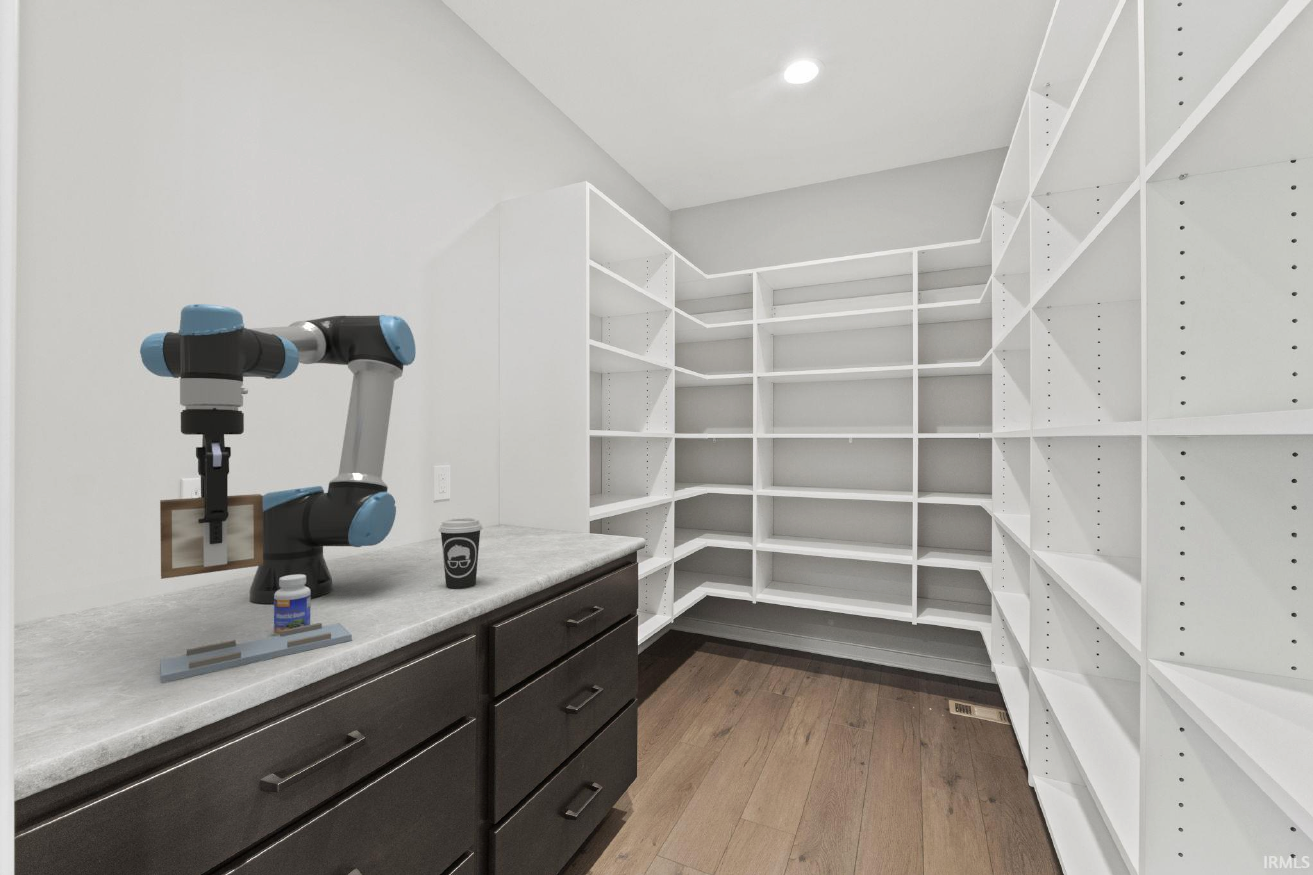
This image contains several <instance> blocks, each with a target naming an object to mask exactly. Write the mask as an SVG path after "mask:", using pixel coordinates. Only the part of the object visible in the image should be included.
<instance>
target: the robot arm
mask: <svg viewBox="0 0 1313 875" xmlns="http://www.w3.org/2000/svg"><path fill="white" fill-rule="evenodd" d="M139 353H140V358H141V361H142V364H143V366H144V367H145V368H146V370H148V371H149V372H150V373H152V374H153V375H156V376H158V377H165V378H166V377H167V378H173V379H179V405H181V406H182V407H185V408H184V409H183V410H181V411H180V433H181V434H183V435H189V436H190V435H191V436H192V435H194V436H195V435H196V436H197V435H201V436H202V441H201V443H202V444H201V445H202V446H200V447H199V446H196V447H195V456H196V458H197V473H198V475H199V476H200V498H205V517H204V519H198V522H199V523H203V549H204V567H207V566H215V565H223V564H227V521H226V519H227V517H228V515H229V513H228V496H229V495H228V483H229V482H228V478H229V477H228V476H229V473H230V458H231V456H232V452H231V450H232V449H231V446H225V445H226V444H225V435H242V434H243V433H244V431H245V428H244V427H245V423H244V422H245V414H244V412H243V411H242V410H239V408H242V407H244V395H248V394H249V389H248V388H245V387H243V385H244V383H243V382H244V378H245V377H246V378H247V377H248V378H265V379H267V380H269V379H270V380H271V379H272V380H274V379H277V380H279V379H285V378H288V377H290V376H291V375H293V374H294V373H295V371H296V370H297V369H298V367H299V365H300V364H303V365H313V364H326V365H327V364H330V365H339V366H347V369H348V370H349V371H350V372H351V373H352V374H353V376H352V377H353V378H352V383H351V390H350V398H349V404H348V410H347V415H346V416H347V418H346V424H345V429H344V436H343V442H342V450H341V454H340V455H341V457H340V462H339V469H338V475H337V476H336V477H334V478H333V479H332V480H330V481H329V483H328V488H327V492H325V489H324V488H323V486H321V485H317V486H309V487H303V488H295V489H286V490H280V491H279V490H278V491H271V492H268V493H264V494H263V495H262V496H263V565H262V566H257V569H256V571H255V574H254V577H253V581H252V582H251V585H250V588H249V601H250V602H252V603H256V604H274V594H275V592H276V591H278V590H280V589H281V587H279V579H280V578H281V577H284V576H288V575H299V574H301V575H306V584H304V586H306V587H308V588H309V589H310V593H311V599H313V598H317V597H321V596H323V595H326V594H327V593H329V592H331V591H332V590H333V579H332V578H333V577H332V575H331V572H330V570H329V567H328V565H327V564H328V563H326V559H325V557H324V547H354V548H360V547H369V546H370V547H371V546H377V545H378V544H380V543H381V542H383V541H384V540H385V539H386V537H387V536H388V535H389V533H390V532H391V531H392V528H393V525H394V523H395V519H396V515H397V506H396V499H395V498H394V496H393V495H392V494H391V493H389V492H388V488H389V487H388V485H387V484H386V483H385V482H384V480H383V478H382V476H383V470H384V461H385V455H386V447H387V440H388V432H389V425H390V418H391V409H392V402H393V394H394V388H395V381H396V380H398V379H399V378H400V377H402V376H403V374H404V373H403V372H404V371H403V370H404V366H405V367H406V366H409V365H412V364H413V362H414V361H415V359H416V342H415V338H414V334H413V331H412V330H411V327H410V326H409V324H408V323H407V322H406V320H405V319H404V318H402V317H401V316H397V315H386V314H380V315H334V316H327V317H321V318H317V319H316V318H315V319H309V320H299V321H294V322H292V323H290V324H289V325H288V326H275V327H274V326H273V327H254V328H247V327H245V323H244V319H243V314H242V313H241V312H240V311H239V310H237V309H235V308H232V307H229V306H223V305H216V304H215V305H214V304H205V303H204V304H203V303H201V304H200V303H199V304H197V303H196V304H195V303H194V304H188V305H186V306H184V307H183V308H182V309H181V310H180V320H179V330H178V331H177V332H174V331H167V332H166V331H165V332H160V333H159V332H158V333H157V332H156V333H152V334H150V335H148V336H146V337H144V339H143V341H142V343H141V345H140V348H139ZM299 363H300V364H299Z"/></svg>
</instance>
